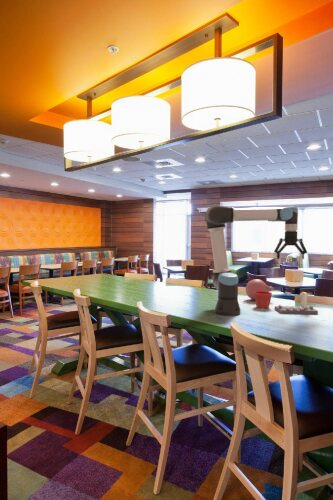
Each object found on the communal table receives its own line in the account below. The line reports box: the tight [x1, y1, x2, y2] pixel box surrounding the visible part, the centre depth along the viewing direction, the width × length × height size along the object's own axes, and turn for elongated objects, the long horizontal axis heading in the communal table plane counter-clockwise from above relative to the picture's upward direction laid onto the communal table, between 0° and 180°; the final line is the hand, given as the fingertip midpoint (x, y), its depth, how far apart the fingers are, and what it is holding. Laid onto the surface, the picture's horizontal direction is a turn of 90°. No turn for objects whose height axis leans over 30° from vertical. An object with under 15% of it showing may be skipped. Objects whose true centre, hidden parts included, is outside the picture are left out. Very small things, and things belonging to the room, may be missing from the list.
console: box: [274, 304, 319, 315], centre depth 204 cm, size 22×12×4 cm, turn 89°
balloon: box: [245, 278, 275, 301], centre depth 240 cm, size 15×20×15 cm
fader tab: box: [300, 291, 308, 309], centre depth 204 cm, size 3×4×10 cm
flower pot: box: [254, 291, 273, 309], centre depth 217 cm, size 11×11×10 cm
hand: (290, 264), depth 212 cm, fingers open, 13 cm apart
